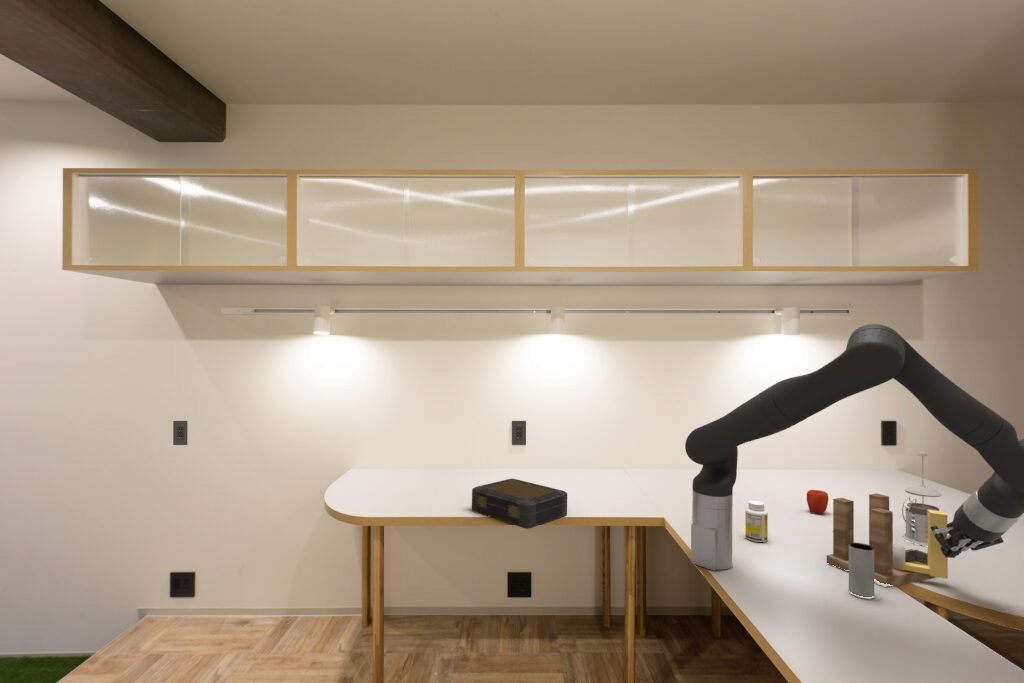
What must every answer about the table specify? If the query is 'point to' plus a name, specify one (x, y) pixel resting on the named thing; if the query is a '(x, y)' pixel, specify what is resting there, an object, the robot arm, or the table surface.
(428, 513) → the table surface
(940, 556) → the hinged leg
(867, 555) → the grey tube
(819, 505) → the apple
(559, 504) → the black carrying case
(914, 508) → the french press
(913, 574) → the wooden pillar stand
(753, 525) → the supplement bottle
